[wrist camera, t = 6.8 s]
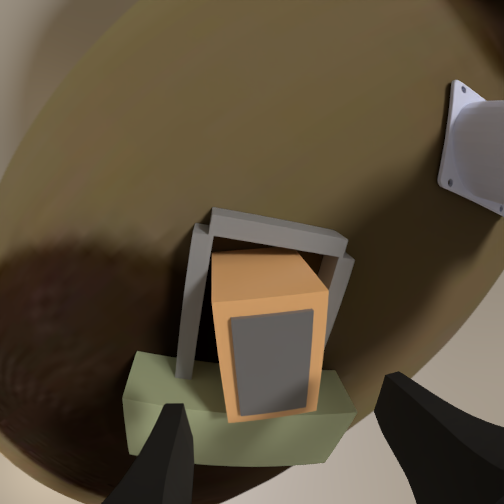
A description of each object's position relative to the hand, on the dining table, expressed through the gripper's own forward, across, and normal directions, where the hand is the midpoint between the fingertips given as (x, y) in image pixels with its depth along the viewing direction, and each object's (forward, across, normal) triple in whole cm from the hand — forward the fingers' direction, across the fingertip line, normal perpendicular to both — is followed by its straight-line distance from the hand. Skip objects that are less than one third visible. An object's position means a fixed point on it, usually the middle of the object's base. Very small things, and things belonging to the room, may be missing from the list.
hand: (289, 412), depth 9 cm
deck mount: (+9, +1, +3) cm, 9 cm away
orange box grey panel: (+9, 0, 0) cm, 9 cm away
